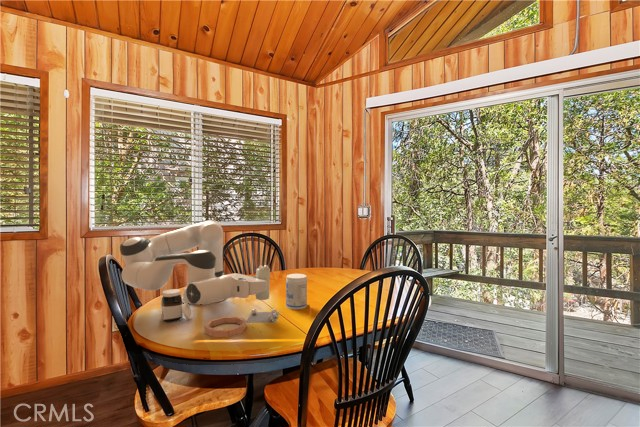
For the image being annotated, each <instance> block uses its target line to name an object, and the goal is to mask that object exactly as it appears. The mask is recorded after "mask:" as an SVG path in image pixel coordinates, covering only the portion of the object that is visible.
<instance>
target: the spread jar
mask: <svg viewBox="0 0 640 427" xmlns="http://www.w3.org/2000/svg"><path fill="white" fill-rule="evenodd" d="M181 293H182V291H181V289H179V288H178V289H177V288H173V289H171V288H170V289H164V290H163V291H162V293H161V294H162V298H161V301H160V303H161V304H160V305H161V306H160V307H161V308H160V309H161V310H160V312H161V321H162V322H163V321H164V322H163V323H173V321H175V322H177V320H178V321H180V320H181V319H182V318H183V317H184V319H185V320H187V321H188V320H191V319H192V318H193V311H192V308H191V306H190V305H191V304H188V303H184V304H183V303H182V295H181Z"/></svg>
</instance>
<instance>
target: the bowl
mask: <svg viewBox="0 0 640 427" xmlns="http://www.w3.org/2000/svg"><path fill="white" fill-rule="evenodd" d="M222 324H238V326H236V327H233V328H229V329H214V328H213V327H216V326H218V325H222ZM247 326H248V323H247V319H245V318H243V317H240V316H222V317H219V318H214V319H210V320H209V321H208V322H207V323H206V324H205V325H204V328H203V329H204V330H203V331H204V333H205V334H206V335H208V336H210V337H212V338H214V337H215V338H219V337H220V338H223V337H225V338H228V337H233V336H236V335H239V334H241V333H244V332H245V329H246V328H247Z"/></svg>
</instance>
